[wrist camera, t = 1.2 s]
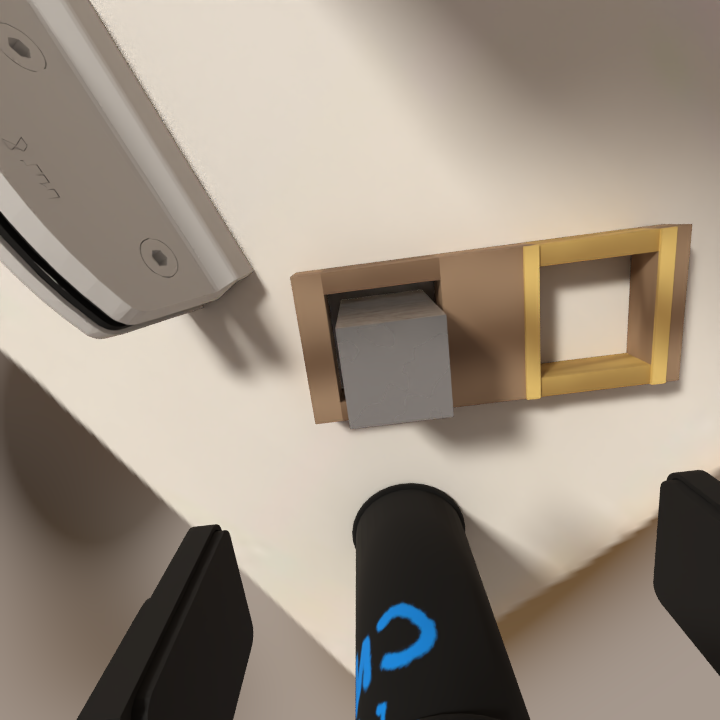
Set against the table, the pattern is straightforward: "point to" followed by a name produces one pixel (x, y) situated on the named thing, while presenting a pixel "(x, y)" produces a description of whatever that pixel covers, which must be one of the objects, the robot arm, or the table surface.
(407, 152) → the table surface
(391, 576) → the aerosol can
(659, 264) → the wooden slotted tray
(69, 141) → the gray curved box
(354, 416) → the grey rectangular block
